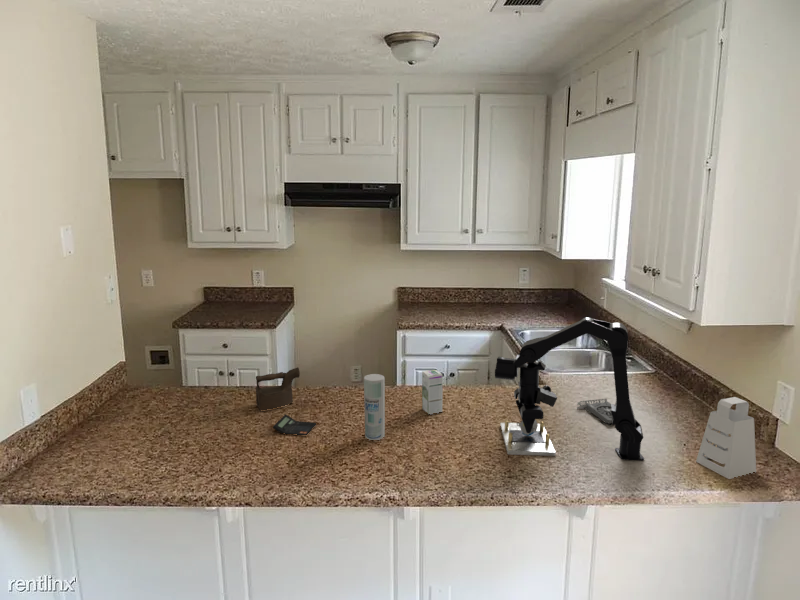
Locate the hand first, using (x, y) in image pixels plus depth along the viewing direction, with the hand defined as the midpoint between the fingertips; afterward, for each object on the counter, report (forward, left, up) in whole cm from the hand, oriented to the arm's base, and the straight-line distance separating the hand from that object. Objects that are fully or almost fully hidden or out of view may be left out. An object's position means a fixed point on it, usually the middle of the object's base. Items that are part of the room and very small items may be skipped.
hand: (526, 428), depth 168 cm
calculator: (+3, +75, -4) cm, 75 cm away
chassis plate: (0, 0, -4) cm, 4 cm away
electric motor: (0, 0, -2) cm, 2 cm away
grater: (-13, -54, -4) cm, 56 cm away
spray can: (-1, +48, -4) cm, 48 cm away
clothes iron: (+22, +87, -4) cm, 90 cm away
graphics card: (+21, -30, -5) cm, 37 cm away
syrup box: (+21, +30, -4) cm, 37 cm away
